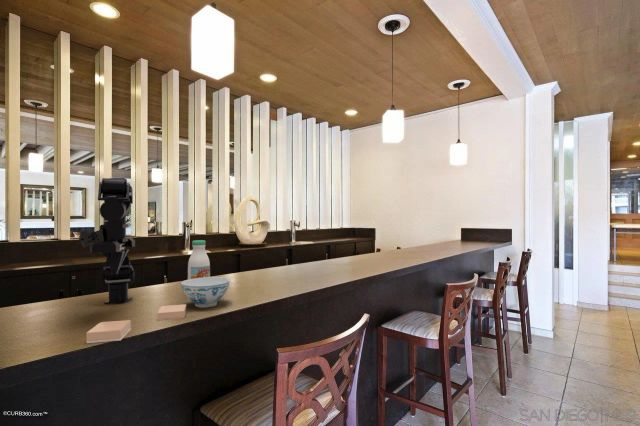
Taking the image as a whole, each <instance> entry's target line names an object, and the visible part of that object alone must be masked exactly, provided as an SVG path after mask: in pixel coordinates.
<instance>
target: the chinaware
mask: <svg viewBox="0 0 640 426" xmlns="http://www.w3.org/2000/svg"><path fill="white" fill-rule="evenodd" d="M230 282H231V280H230V278H227V277H221V276H220V277H219V276H210V277H204V278H195V279H189V280H188V279H186V280H183V281H182V282H181V284H180V286H181V288H182V289H181V290H182V291H183V294H184V296H185V297H186V298H187V299H188V300H189V301H190V302H191V303H193V304H194V306H195V307H196V308H209V307H210V308H211V307H215V306H217V304H218V302H219V301H220V300H222V298H223V297H224V296H225V294H226V293H227V291H228V288H229V286H230Z"/></svg>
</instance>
